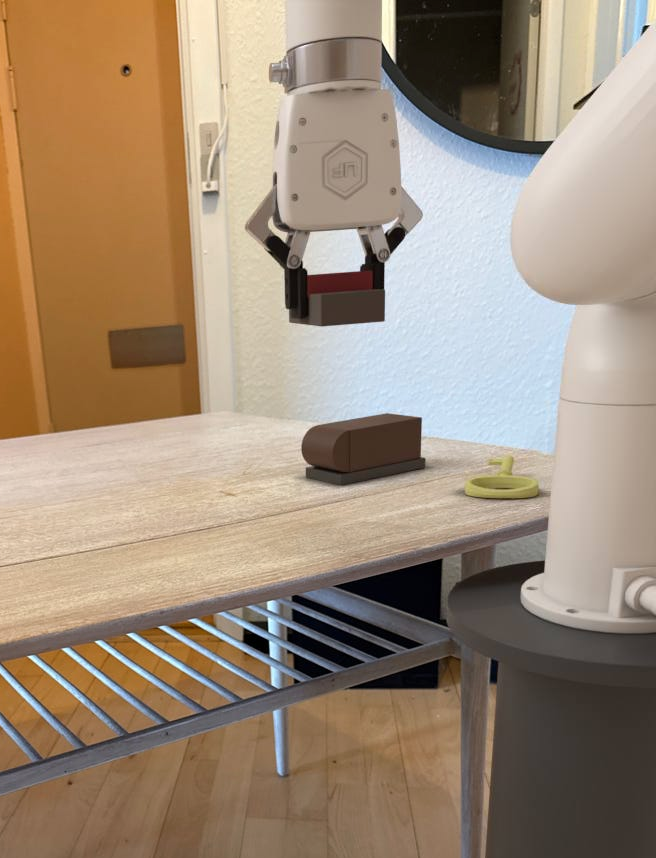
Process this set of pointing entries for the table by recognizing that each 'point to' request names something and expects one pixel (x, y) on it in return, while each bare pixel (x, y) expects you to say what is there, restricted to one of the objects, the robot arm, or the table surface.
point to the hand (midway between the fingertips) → (334, 313)
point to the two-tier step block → (342, 299)
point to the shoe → (363, 448)
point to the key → (502, 483)
